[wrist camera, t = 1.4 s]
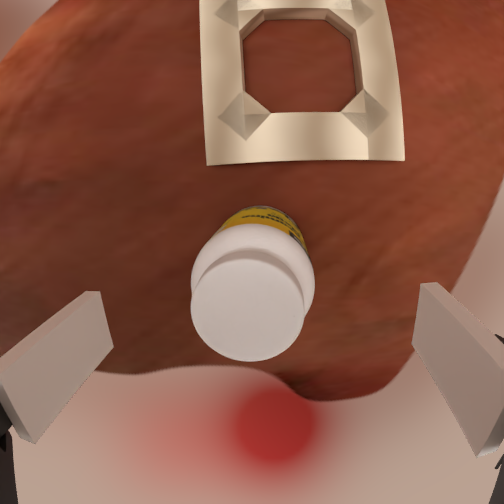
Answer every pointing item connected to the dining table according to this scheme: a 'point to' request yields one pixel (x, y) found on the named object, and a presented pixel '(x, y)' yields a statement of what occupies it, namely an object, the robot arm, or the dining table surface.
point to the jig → (299, 123)
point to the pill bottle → (252, 285)
